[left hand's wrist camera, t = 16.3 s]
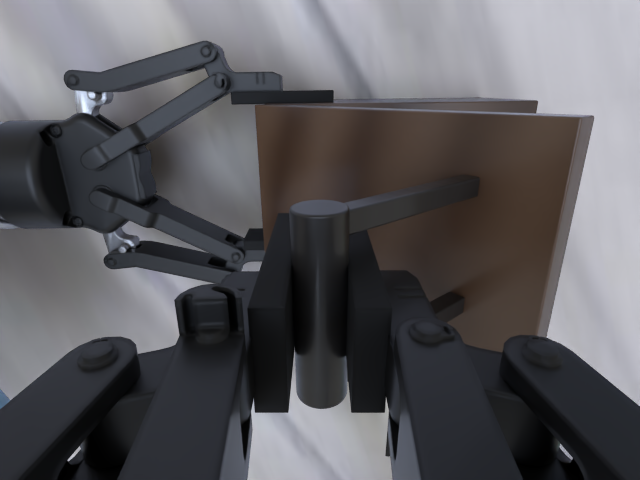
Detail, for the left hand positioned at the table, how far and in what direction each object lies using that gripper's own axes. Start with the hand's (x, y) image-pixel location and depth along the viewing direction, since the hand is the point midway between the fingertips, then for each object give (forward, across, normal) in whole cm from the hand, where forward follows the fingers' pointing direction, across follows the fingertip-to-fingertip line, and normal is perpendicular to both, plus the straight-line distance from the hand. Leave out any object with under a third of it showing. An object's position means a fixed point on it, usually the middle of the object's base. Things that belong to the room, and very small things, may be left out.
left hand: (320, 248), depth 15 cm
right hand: (+15, -1, 0) cm, 15 cm away
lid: (+5, -2, 0) cm, 6 cm away
